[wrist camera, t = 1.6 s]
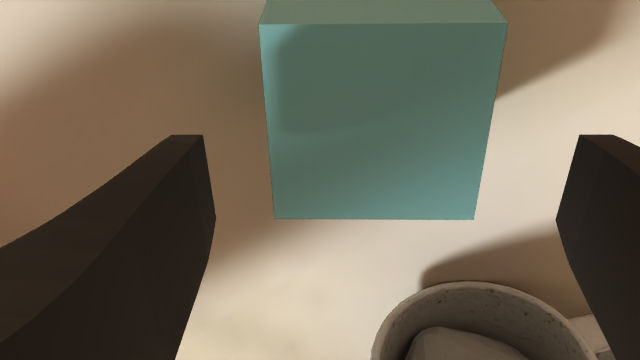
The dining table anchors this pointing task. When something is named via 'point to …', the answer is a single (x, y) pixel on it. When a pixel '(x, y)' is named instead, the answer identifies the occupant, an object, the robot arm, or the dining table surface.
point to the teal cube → (379, 105)
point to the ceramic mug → (485, 327)
